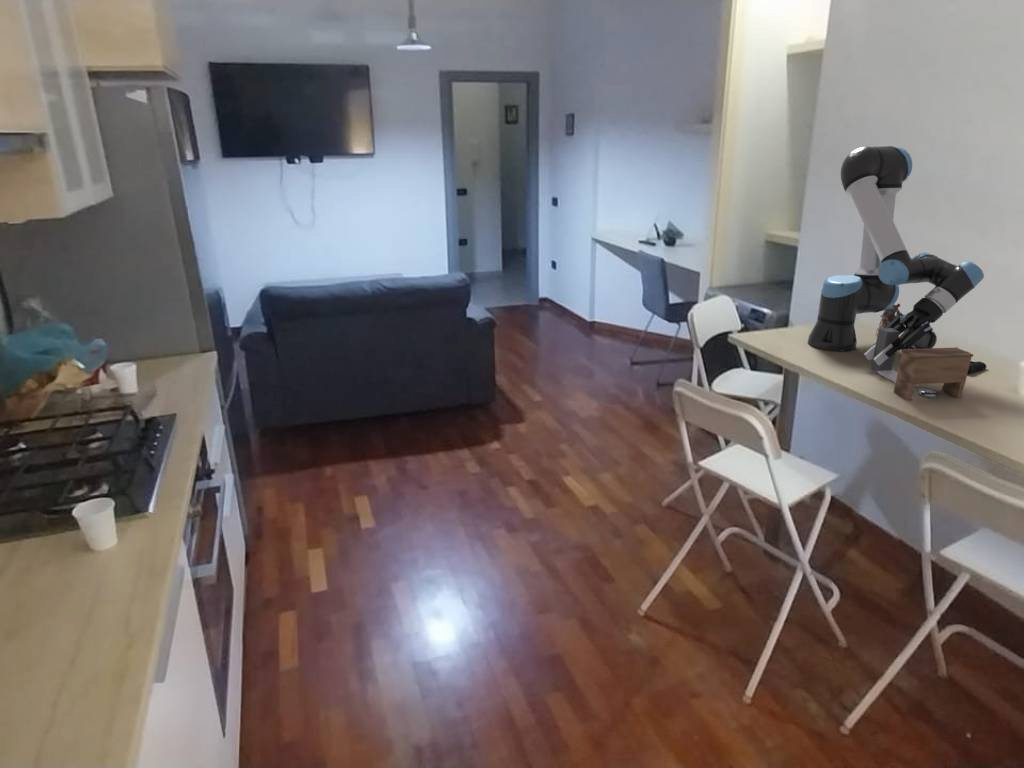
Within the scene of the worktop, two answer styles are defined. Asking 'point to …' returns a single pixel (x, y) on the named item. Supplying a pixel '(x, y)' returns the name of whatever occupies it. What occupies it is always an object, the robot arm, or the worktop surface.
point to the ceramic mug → (926, 341)
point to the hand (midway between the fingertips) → (871, 359)
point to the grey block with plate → (883, 341)
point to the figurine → (888, 316)
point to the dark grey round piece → (927, 393)
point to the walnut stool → (932, 370)
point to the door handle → (976, 366)
